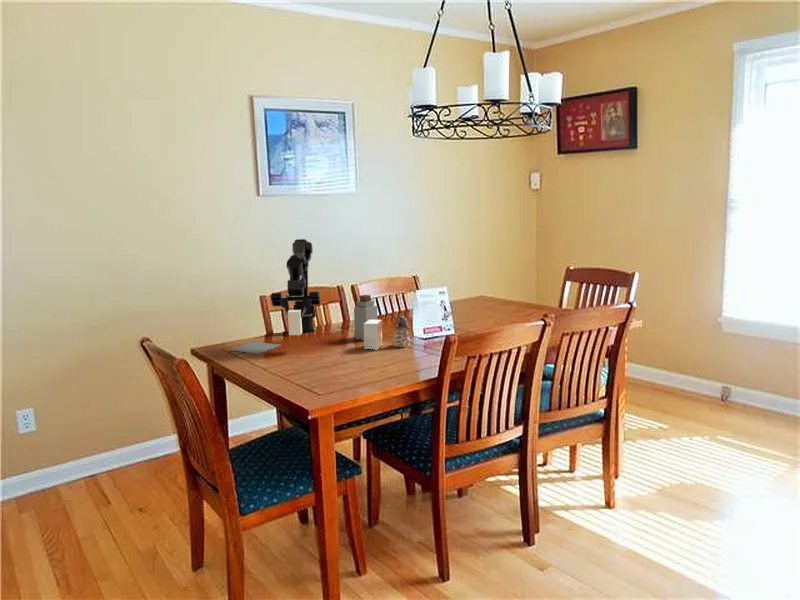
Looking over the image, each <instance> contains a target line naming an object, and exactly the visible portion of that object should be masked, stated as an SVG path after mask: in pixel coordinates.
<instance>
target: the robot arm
mask: <svg viewBox="0 0 800 600" xmlns="http://www.w3.org/2000/svg"><path fill="white" fill-rule="evenodd" d="M313 253H314V251H313V244H312V242H310V241H308V240H307V239H304V238H298V239H295V240H294V242H293V243H292V254H291V255H290V256H289V258H288V259H287V260H286V269H287V271H288V275H289V280H287V294H282V292H272V293H271V294H270V301H271V305H272V307H281V308H282V309H284V310H285V312H286V316H287V317H288V311H289V310H290V304H289V302H294V304H293V310H301V318H302V334H305V333H310V332H316V329H314V320H313V319H314V318H316V317H317V316H316V307H315V306H320V305H321V294H320V292H319V291H309V267H310V266H309V263H310V261H311V260H312V254H313Z"/></svg>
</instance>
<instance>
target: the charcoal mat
mask: <svg viewBox="0 0 800 600" xmlns="http://www.w3.org/2000/svg"><path fill="white" fill-rule="evenodd" d="M279 346H280V347H282V344H278V343H267V342H260V341H259V342H258V341H251V342H249V343H247V344H243V345H240V346H237V347H235V348H234V347H233V348H231V349H230V350H231V351H230V352H234V351H239V352H238V353H242V352H246V353H245V354H250V353H252V354H251V355H261V354H263V352H264V353H266V352H269V351H272V350H274V348H275V349H277V348H280V347H279ZM276 347H277V348H276ZM271 349H272V350H271ZM268 350H269V351H268ZM260 353H261V354H260Z"/></svg>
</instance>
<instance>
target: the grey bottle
mask: <svg viewBox="0 0 800 600" xmlns="http://www.w3.org/2000/svg"><path fill="white" fill-rule="evenodd" d="M371 297H372V296H371V295H370V294H361V295H359V300H357V301H355V302H356V306H353V314H354V315H353V317H354V319H353V320H354V321H353V322H354V324H353V325H354V339H355V338H358V339H364V323H365V322H367V321H368V320H379V319H378V305H375V300H373V299H371ZM358 339H357V340H358Z"/></svg>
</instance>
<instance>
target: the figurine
mask: <svg viewBox="0 0 800 600" xmlns="http://www.w3.org/2000/svg"><path fill="white" fill-rule="evenodd" d="M394 319H395V321H394V324H393V327H394V331H393V337H392V346H393V345H394V346H396V347H405V346H409V345H411V346H412V343H411V338H410V333H409V330H410V327H409V324H410V323H409V322H408V319H407V317H405V316H403V315H400V316H396V315H395V316H394ZM397 325H398V326H397ZM394 346H393V347H394ZM396 347H395V348H396Z"/></svg>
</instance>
